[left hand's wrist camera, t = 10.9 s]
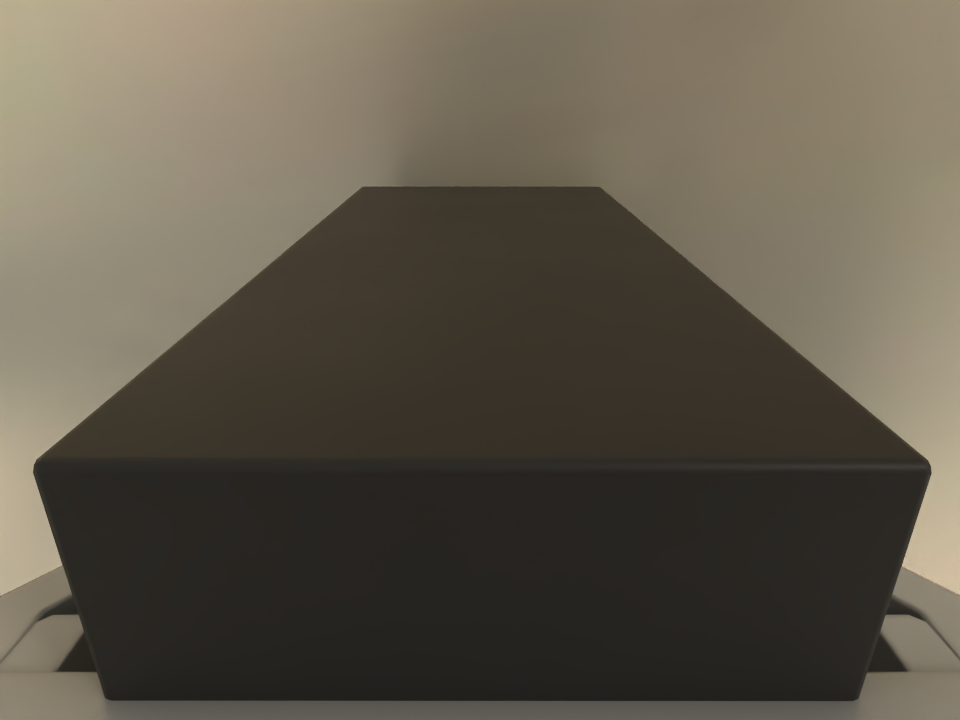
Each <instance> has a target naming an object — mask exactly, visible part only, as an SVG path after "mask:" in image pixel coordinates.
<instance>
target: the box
mask: <svg viewBox="0 0 960 720" xmlns="http://www.w3.org/2000/svg"><path fill="white" fill-rule="evenodd" d="M33 474H34V477H35V480H36V483H37V486H38V489H39V492H40V495H41V499H42V502H43V505H44V508H45V511H46V514H47V517H48V521H49V524H50V527H51V530H52V533H53V536H54V539H55V543H56V546H57V549H58V552H59V555H60V558H61V561H62V564H63V568H64V571H65V574H66V577H67V580H68V583H69V586H70V590H71V593H72V596H73V599H74V602H75V605H76V608H77V612H78V615H79V618H80V621H81V624H82V627H83V630H84V634H85V637H86V640H87V643H88V646H89V649H90V652H91V655H92V659H93V662H94V665H95V668H96V671H97V674H98V677H99V681H100V684H101V687H102V690H103V693H104V696H105V698H106V699H108V700H111V701H854V700H857V699H859V696H860V693H861V690H862V687H863V684H864V680H865V677H866V674H867V671H868V668H869V665H870V662H871V659H872V656H873V653H874V649H875V646H876V643H877V640H878V637H879V634H880V631H881V628H882V625H883V622H884V619H885V615H886V612H887V609H888V606H889V603H890V600H891V597H892V594H893V591H894V588H895V584H896V581H897V578H898V575H899V572H900V569H901V566H902V563H903V560H904V557H905V554H906V550H907V547H908V544H909V541H910V538H911V535H912V532H913V529H914V526H915V523H916V519H917V516H918V513H919V510H920V507H921V504H922V501H923V498H924V495H925V492H926V489H927V485H928V482H929V479H930V476H931V466H930V464H929V462H928V460H927V459H926V458H924V457H923V456H922V455H921V454H920V453H918V452H917V451H916V450H915V449H914V448H912V447H911V446H910V445H909V444H908V443H906V442H905V441H904V440H903V439H902V438H900V437H899V436H898V435H897V434H896V433H894V432H893V431H892V430H891V429H890V428H888V427H887V426H886V425H885V424H884V423H882V422H881V421H880V420H879V419H878V418H876V417H875V416H874V415H873V414H872V413H870V412H869V411H868V410H867V409H866V408H864V407H863V406H862V405H861V404H860V403H858V402H857V401H856V400H855V399H854V398H852V397H851V396H850V395H849V394H848V393H846V392H845V391H844V390H843V389H842V388H840V387H839V386H838V385H837V384H836V383H834V382H833V381H832V380H831V379H830V378H828V377H827V376H826V375H825V374H824V373H822V372H821V371H820V370H819V369H818V368H816V367H815V366H814V365H813V364H812V363H810V362H809V361H808V360H807V359H806V358H804V357H803V356H802V355H801V354H800V353H798V352H797V351H796V350H795V349H794V348H792V347H791V346H790V345H789V344H787V343H786V342H785V341H784V340H783V339H781V338H780V337H779V336H778V335H777V334H775V333H774V332H773V331H772V330H771V329H769V328H768V327H767V326H766V325H765V324H763V323H762V322H761V321H760V320H759V319H757V318H756V317H755V316H754V315H753V314H751V313H750V312H749V311H748V310H747V309H745V308H744V307H743V306H742V305H741V304H739V303H738V302H737V301H736V300H735V299H733V298H732V297H731V296H730V295H729V294H727V293H726V292H725V291H724V290H723V289H721V288H720V287H719V286H718V285H717V284H715V283H714V282H713V281H712V280H711V279H709V278H708V277H707V276H706V275H705V274H703V273H702V272H701V271H700V270H699V269H697V268H696V267H695V266H694V265H693V264H691V263H690V262H689V261H688V260H687V259H685V258H684V257H683V256H682V255H681V254H679V253H678V252H677V251H676V250H675V249H673V248H672V247H671V246H670V245H669V244H667V243H666V242H665V241H664V240H663V239H661V238H660V237H659V236H658V235H657V234H655V233H654V232H653V231H652V230H651V229H649V228H648V227H647V226H646V225H645V224H643V223H642V222H641V221H640V220H639V219H637V218H636V217H635V216H634V215H633V214H631V213H630V212H629V211H628V210H627V209H625V208H624V207H623V206H622V205H621V204H619V203H618V202H617V201H616V200H615V199H613V198H612V197H611V196H610V195H609V194H607V193H606V192H605V191H604V190H603V189H601V188H600V187H362V188H361V189H359V190H358V191H357V192H356V193H355V194H353V195H352V196H351V197H350V198H349V199H347V200H346V201H345V202H344V203H343V204H342V205H340V206H339V207H338V208H337V209H336V210H334V211H333V212H332V213H331V214H330V215H328V216H327V217H326V218H325V219H324V220H322V221H321V222H320V223H319V224H318V225H316V226H315V227H314V228H313V229H312V230H310V231H309V232H308V233H307V234H306V235H304V236H303V237H302V238H301V239H300V240H299V241H297V242H296V243H295V244H294V245H293V246H291V247H290V248H289V249H288V250H287V251H285V252H284V253H283V254H282V255H281V256H279V257H278V258H277V259H276V260H275V261H273V262H272V263H271V264H270V265H269V266H267V267H266V268H265V269H264V270H263V271H261V272H260V273H259V274H258V275H257V276H256V277H254V278H253V279H252V280H251V281H250V282H248V283H247V284H246V285H245V286H244V287H242V288H241V289H240V290H239V291H238V292H236V293H235V294H234V295H233V296H232V297H230V298H229V299H228V300H227V301H226V302H224V303H223V304H222V305H221V306H220V307H218V308H217V309H216V310H215V311H214V312H213V313H211V314H210V315H209V316H208V317H207V318H205V319H204V320H203V321H202V322H201V323H199V324H198V325H197V326H196V327H195V328H193V329H192V330H191V331H190V332H189V333H187V334H186V335H185V336H184V337H183V338H181V339H180V340H179V341H178V342H177V343H175V344H174V345H173V346H172V347H171V348H170V349H168V350H167V351H166V352H165V353H164V354H162V355H161V356H160V357H159V358H158V359H156V360H155V361H154V362H153V363H152V364H150V365H149V366H148V367H147V368H146V369H144V370H143V371H142V372H141V373H140V374H138V375H137V376H136V377H135V378H134V379H132V380H131V381H130V382H129V383H128V384H127V385H125V386H124V387H123V388H122V389H121V390H119V391H118V392H117V393H116V394H115V395H113V396H112V397H111V398H110V399H109V400H107V401H106V402H105V403H104V404H103V405H101V406H100V407H99V408H98V409H97V410H95V411H94V412H93V413H92V414H91V415H89V416H88V417H87V418H86V419H85V420H84V421H82V422H81V423H80V424H79V425H78V426H76V427H75V428H74V429H73V430H72V431H70V432H69V433H68V434H67V435H66V436H64V437H63V438H62V439H61V440H60V441H58V442H57V443H56V444H55V445H54V446H52V447H51V448H50V449H49V450H48V451H46V452H45V453H44V454H43V455H42V456H41V457H39V458H38V459H37V460H36V462H35V464H34V470H33Z"/></svg>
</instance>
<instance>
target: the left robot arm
mask: <svg viewBox="0 0 960 720" xmlns="http://www.w3.org/2000/svg"><path fill="white" fill-rule="evenodd" d="M0 720H960V595H958V594H956V593H954V592H952V591H950V590H948V589H946V588H944V587H942V586H940V585H938V584H936V583H934V582H932V581H930V580H928V579H926V578H924V577H922V576H920V575H918V574H916V573H914V572H912V571H910V570H908V569H906V568H904V567H902V566H901V569H900V572H899V575H898V578H897V581H896V584H895V588H894V591H893V594H892V597H891V600H890V603H889V606H888V609H887V612H886V615H885V619H884V622H883V625H882V628H881V631H880V634H879V637H878V640H877V643H876V646H875V649H874V653H873V656H872V659H871V662H870V665H869V668H868V671H867V674H866V677H865V680H864V684H863V687H862V690H861V693H860V696H859V699H857V700H854V701H111V700H108V699H106V698H105V696H104V693H103V690H102V687H101V684H100V681H99V677H98V674H97V671H96V668H95V665H94V662H93V659H92V655H91V652H90V649H89V646H88V643H87V640H86V637H85V634H84V630H83V627H82V624H81V621H80V618H79V615H78V612H77V608H76V605H75V602H74V599H73V596H72V593H71V590H70V586H69V583H68V580H67V577H66V574H65V571H64V568H63V565H62V566H60V567H58V568H56V569H54V570H52V571H50V572H48V573H46V574H44V575H42V576H40V577H38V578H36V579H34V580H32V581H30V582H28V583H26V584H24V585H22V586H20V587H18V588H16V589H14V590H12V591H10V592H8V593H6V594H4V595H2V596H0Z"/></svg>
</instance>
